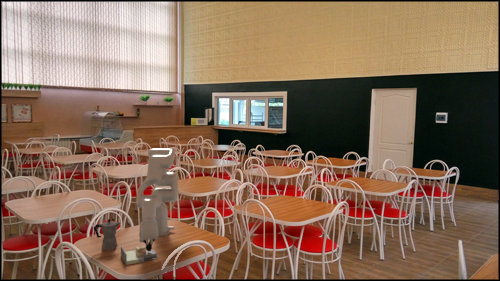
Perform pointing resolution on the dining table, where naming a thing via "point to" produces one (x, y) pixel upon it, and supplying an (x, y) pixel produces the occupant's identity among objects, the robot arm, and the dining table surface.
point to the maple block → (140, 250)
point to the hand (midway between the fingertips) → (148, 250)
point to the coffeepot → (108, 234)
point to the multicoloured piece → (132, 258)
